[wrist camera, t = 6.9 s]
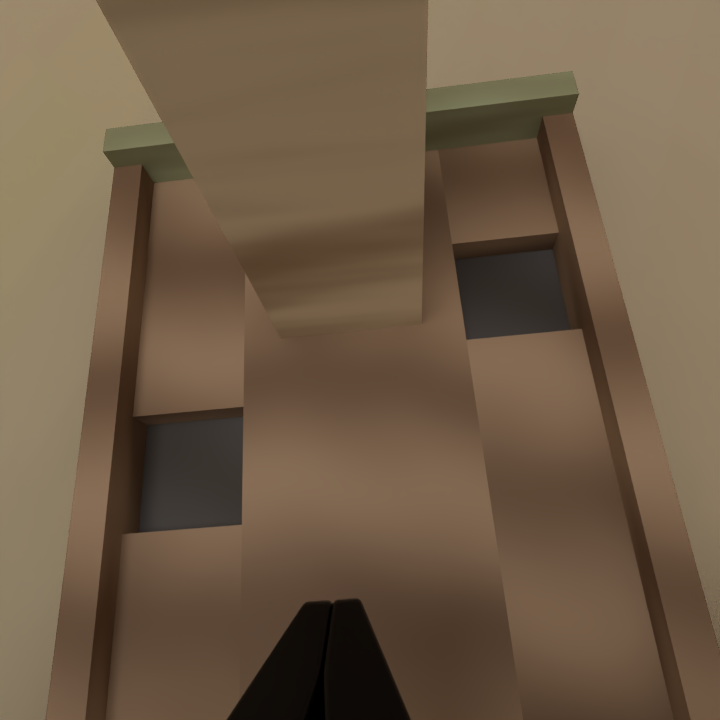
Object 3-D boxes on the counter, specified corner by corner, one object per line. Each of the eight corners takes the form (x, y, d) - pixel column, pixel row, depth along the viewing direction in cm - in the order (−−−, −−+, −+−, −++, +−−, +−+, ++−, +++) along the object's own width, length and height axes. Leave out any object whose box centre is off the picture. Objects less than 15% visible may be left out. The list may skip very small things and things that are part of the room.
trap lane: (703, 742, 14) (773, 780, 11) (86, 774, 15) (11, 816, 12) (552, 137, 21) (572, 70, 19) (144, 185, 22) (106, 129, 20)
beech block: (421, 324, 18) (430, -112, 7) (280, 338, 18) (64, -59, 7) (403, 171, 20) (387, -343, 9) (278, 186, 20) (112, -296, 9)
